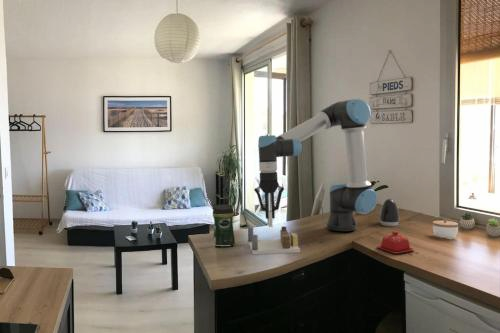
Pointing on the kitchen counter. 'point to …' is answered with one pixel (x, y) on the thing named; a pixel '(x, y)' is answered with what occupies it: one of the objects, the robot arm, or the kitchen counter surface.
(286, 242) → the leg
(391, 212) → the dark grey dome
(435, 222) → the lidded jar
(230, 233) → the coffee jar
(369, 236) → the kitchen counter surface
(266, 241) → the white board with blocks
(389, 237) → the butter dish
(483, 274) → the kitchen counter surface
